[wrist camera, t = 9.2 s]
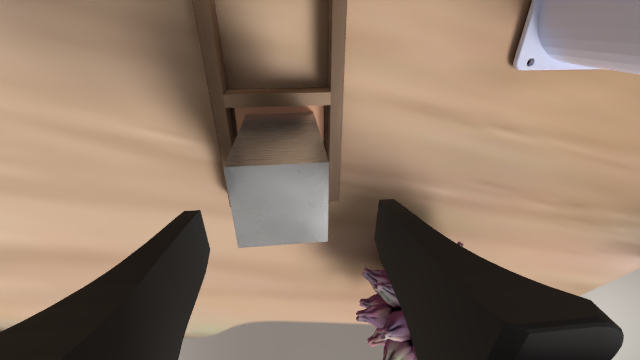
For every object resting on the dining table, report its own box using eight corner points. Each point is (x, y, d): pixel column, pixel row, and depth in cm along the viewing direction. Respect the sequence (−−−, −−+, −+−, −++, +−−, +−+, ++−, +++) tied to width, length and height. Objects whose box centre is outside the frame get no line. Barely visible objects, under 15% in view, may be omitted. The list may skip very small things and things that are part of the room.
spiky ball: (344, 211, 25) (387, 350, 14) (477, 201, 26) (608, 325, 15) (341, 301, 30) (370, 447, 20) (450, 290, 31) (532, 424, 21)
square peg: (313, 112, 20) (328, 162, 13) (314, 171, 22) (327, 241, 15) (245, 114, 19) (223, 167, 12) (253, 174, 22) (238, 247, 15)
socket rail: (351, -272, 12) (359, -306, 11) (336, 190, 23) (338, 200, 22) (149, -291, 11) (132, -330, 10) (233, 196, 23) (230, 206, 21)
